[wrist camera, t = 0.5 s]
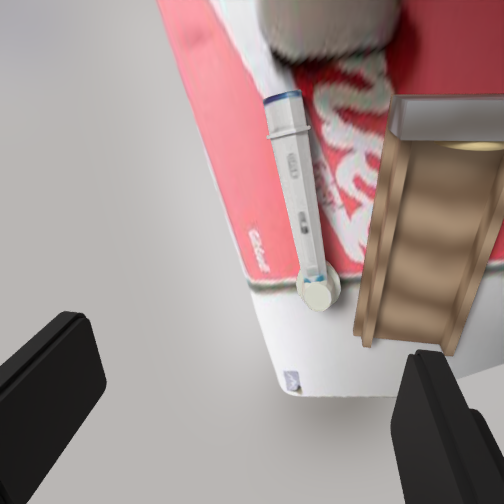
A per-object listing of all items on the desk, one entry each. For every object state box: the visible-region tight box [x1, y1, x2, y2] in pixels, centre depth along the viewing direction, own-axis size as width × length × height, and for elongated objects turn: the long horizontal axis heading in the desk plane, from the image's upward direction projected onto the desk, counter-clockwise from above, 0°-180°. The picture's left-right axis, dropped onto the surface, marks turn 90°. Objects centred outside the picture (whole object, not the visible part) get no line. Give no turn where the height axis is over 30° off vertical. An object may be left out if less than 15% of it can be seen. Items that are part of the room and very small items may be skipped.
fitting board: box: [353, 94, 504, 356], centre depth 36 cm, size 30×13×7 cm, turn 1°
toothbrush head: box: [263, 90, 341, 312], centre depth 38 cm, size 5×7×25 cm
